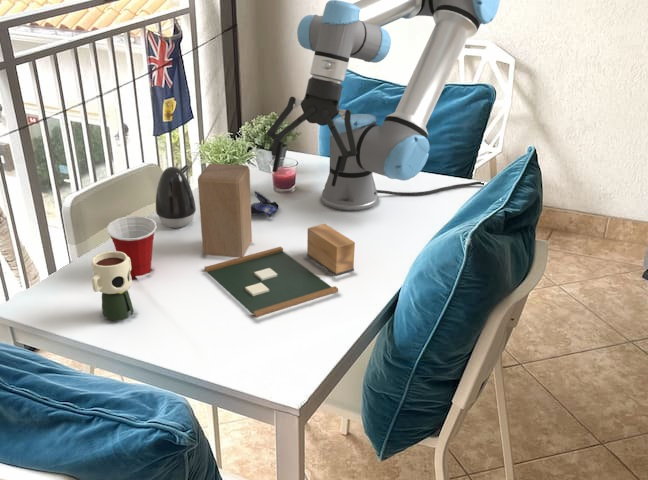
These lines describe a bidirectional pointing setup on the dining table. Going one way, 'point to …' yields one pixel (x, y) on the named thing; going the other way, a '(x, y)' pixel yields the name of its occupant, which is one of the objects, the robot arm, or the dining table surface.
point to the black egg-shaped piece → (175, 198)
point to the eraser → (330, 249)
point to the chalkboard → (269, 281)
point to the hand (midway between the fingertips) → (304, 178)
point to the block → (225, 209)
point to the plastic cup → (134, 241)
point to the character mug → (113, 283)
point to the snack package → (263, 206)
